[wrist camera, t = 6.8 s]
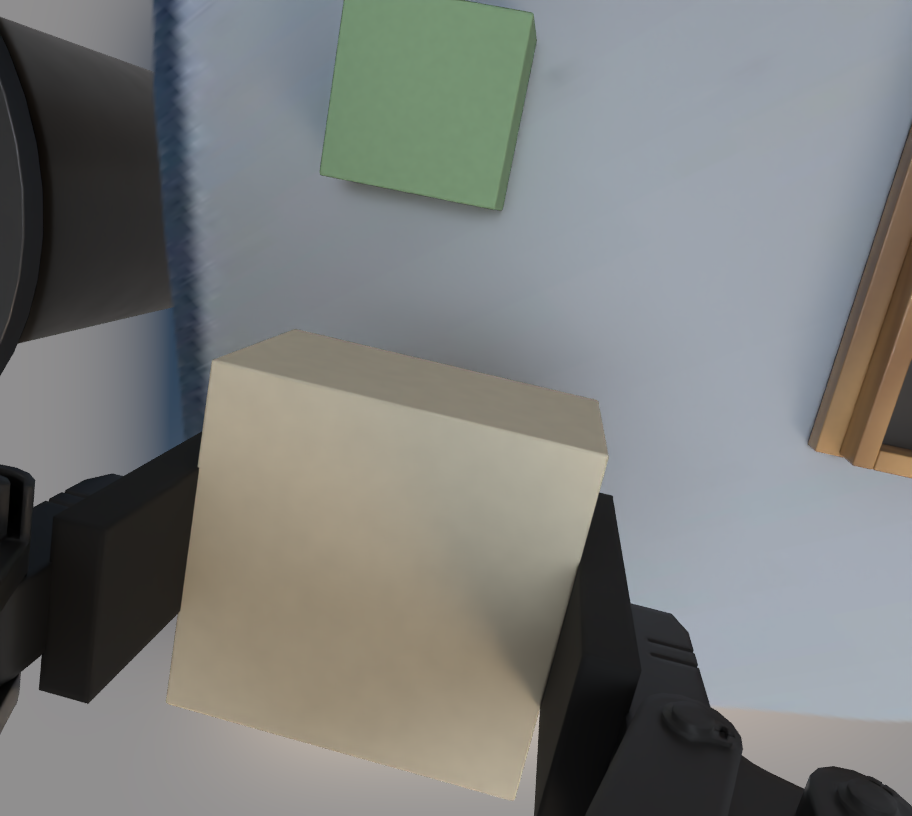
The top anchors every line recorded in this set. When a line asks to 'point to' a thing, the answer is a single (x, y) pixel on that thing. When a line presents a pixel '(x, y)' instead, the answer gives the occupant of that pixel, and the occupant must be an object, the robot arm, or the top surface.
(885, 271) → the frame
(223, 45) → the top surface
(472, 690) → the beige block
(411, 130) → the sage block
